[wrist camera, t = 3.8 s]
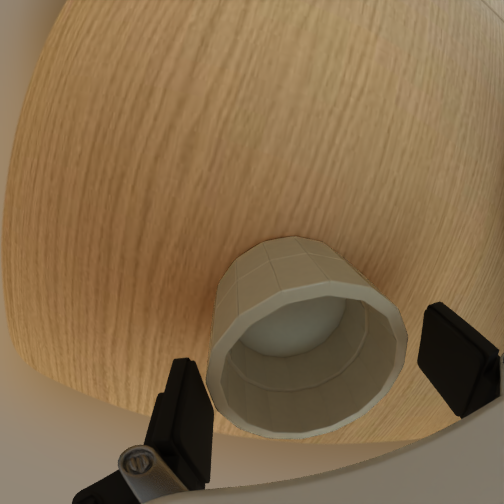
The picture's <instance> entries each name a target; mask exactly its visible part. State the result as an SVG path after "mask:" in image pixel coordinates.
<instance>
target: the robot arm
mask: <svg viewBox="0 0 504 504" xmlns="http://www.w3.org/2000/svg"><path fill="white" fill-rule="evenodd" d="M498 353H499V349H497V348H496V347H495V346H494V345H493V344H492V343H491V342H489V341H488V340H487V339H486V338H485V337H484V336H482V335H481V334H480V333H479V332H478V331H477V330H475V329H474V328H473V327H472V326H471V325H469V324H468V323H467V322H466V321H465V320H463V319H462V318H461V317H460V316H458V315H457V314H456V313H455V312H454V311H452V310H451V309H450V308H449V307H447V306H446V305H445V304H443V303H442V302H437V303H434V304H431V305H429V306H428V307H427V309H426V310H425V312H424V319H423V327H422V334H421V341H420V347H419V353H418V359H417V362H418V366H419V368H420V369H421V370H422V371H423V373H424V374H425V375H426V377H427V378H428V379H429V380H430V382H431V383H432V384H433V386H434V387H435V388H436V390H437V391H438V392H439V393H440V395H441V396H442V397H443V399H444V400H445V401H446V403H447V404H448V405H449V407H450V408H451V410H452V411H453V412H454V414H455V415H456V416H460V418H461V420H459V421H457V422H456V423H454V424H452V425H450V426H448V427H446V428H444V429H442V430H440V431H438V432H436V433H434V434H432V435H430V436H427V437H425V438H423V439H421V440H418V441H416V442H414V443H412V444H409V445H407V446H405V447H402V448H399V449H397V450H395V451H392V452H389V453H386V454H384V455H381V456H378V457H375V458H372V459H369V460H366V461H363V462H360V463H356V464H353V465H350V466H346V467H343V468H339V469H336V470H332V471H328V472H323V473H320V474H315V475H310V476H306V477H301V478H295V479H290V480H284V481H278V482H271V483H264V484H257V485H249V486H240V487H228V488H217V489H205V483H209V482H210V471H211V452H212V437H213V422H214V410H213V407H212V404H211V401H210V399H209V396H208V394H207V391H206V389H205V386H204V384H203V381H202V378H201V376H200V373H199V370H198V368H197V365H196V362H195V361H191V360H190V359H189V358H179V359H174V360H173V363H172V367H171V370H170V374H169V377H168V381H167V384H166V388H165V391H164V393H159V394H158V396H157V399H156V402H155V406H154V409H153V413H152V416H151V420H150V423H149V427H148V430H147V434H146V438H145V442H144V445H135V446H132V447H130V448H128V449H126V450H125V451H124V452H123V453H122V454H121V455H120V457H119V460H118V468H119V470H117V471H115V472H114V473H112V474H110V475H109V476H107V477H105V478H104V479H102V480H100V481H98V482H96V483H94V484H92V485H91V486H89V487H87V488H85V489H83V490H81V491H80V492H78V493H77V494H76V495H75V497H74V498H73V501H72V504H504V353H503V354H502V355H501V357H500V356H499V355H498Z"/></svg>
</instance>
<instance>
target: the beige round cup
mask: <svg viewBox="0 0 504 504" xmlns="http://www.w3.org/2000/svg"><path fill="white" fill-rule="evenodd" d="M407 341H408V334H407V331H406V328H405V325H404V323H403V320H402V317H401V314H400V312H399V309H398V308H397V306H396V305H395V304H394V303H393V302H392V301H390V300H389V299H388V298H387V297H386V296H385V295H384V294H383V293H382V292H381V291H380V290H379V289H378V288H377V287H376V286H375V285H373V284H372V283H371V282H370V281H369V280H368V279H367V278H366V277H365V276H364V275H363V274H362V273H360V272H359V271H358V270H357V269H356V268H355V267H354V266H353V265H352V264H351V263H349V262H348V261H347V260H346V259H345V258H344V257H342V256H341V255H340V254H338V253H337V252H336V251H335V250H333V249H332V248H331V247H329V246H328V245H326V244H325V243H323V242H320V241H316V240H311V239H307V238H302V237H297V236H294V237H293V236H291V237H286V238H280V239H275V240H270V241H264V242H262V243H260V244H258V245H257V246H255V247H253V248H252V249H250V250H249V251H247V252H246V253H244V254H242V255H241V256H239V257H238V258H236V260H234V262H233V263H232V265H231V266H230V267H229V269H228V270H227V272H226V273H225V274H224V276H223V277H222V279H221V280H220V282H219V284H218V287H217V292H216V297H215V302H214V308H213V316H212V324H211V333H210V342H209V352H208V361H207V371H206V385H207V387H208V390H209V392H210V395H211V398H212V400H213V403H214V405H215V408H216V409H217V411H219V412H220V413H221V414H222V415H223V416H224V417H226V418H227V419H228V420H229V421H230V422H232V423H233V424H234V425H235V426H236V427H238V428H239V429H242V430H244V431H247V432H250V433H253V434H256V435H259V436H262V437H265V438H272V439H304V438H309V437H313V436H317V435H321V434H325V433H329V432H333V431H335V430H337V429H339V428H341V427H343V426H345V425H347V424H349V423H351V422H352V421H354V420H356V419H358V418H360V417H362V416H363V415H365V414H366V413H367V412H368V411H369V410H370V409H371V408H372V407H374V406H375V405H376V404H377V403H378V402H379V401H380V400H381V399H382V398H383V397H384V396H385V395H386V394H387V393H388V392H389V390H390V389H391V387H392V385H393V384H394V382H395V380H396V379H397V377H398V375H399V373H400V372H401V370H402V368H403V365H404V362H405V355H406V348H407Z"/></svg>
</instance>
